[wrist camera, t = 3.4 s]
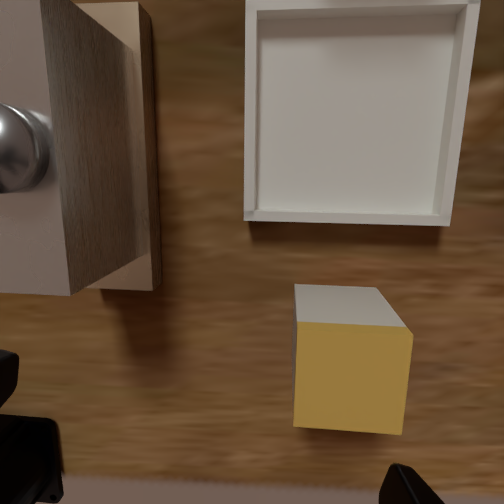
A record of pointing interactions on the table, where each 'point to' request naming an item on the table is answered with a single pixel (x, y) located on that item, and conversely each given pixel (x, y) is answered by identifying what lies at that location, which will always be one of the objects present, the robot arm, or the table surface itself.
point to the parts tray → (355, 109)
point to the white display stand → (77, 148)
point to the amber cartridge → (348, 360)
